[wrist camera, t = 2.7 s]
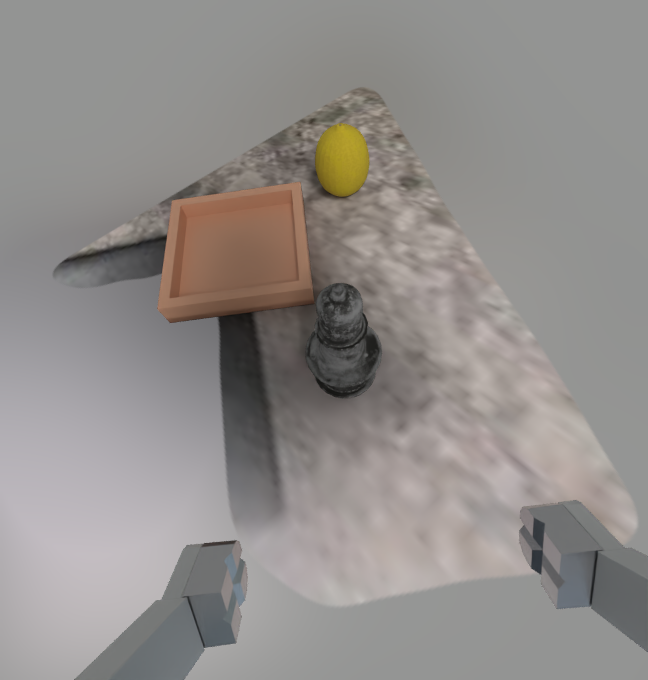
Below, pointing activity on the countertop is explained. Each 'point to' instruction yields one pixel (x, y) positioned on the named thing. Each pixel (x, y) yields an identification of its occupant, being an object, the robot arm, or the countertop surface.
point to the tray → (236, 254)
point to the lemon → (342, 160)
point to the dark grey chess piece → (342, 343)
